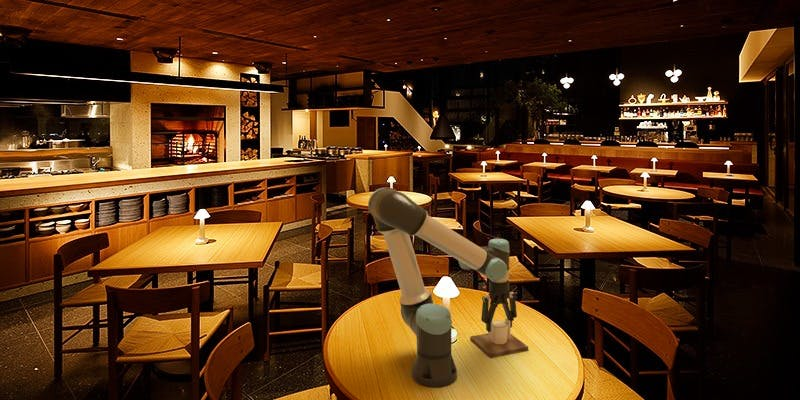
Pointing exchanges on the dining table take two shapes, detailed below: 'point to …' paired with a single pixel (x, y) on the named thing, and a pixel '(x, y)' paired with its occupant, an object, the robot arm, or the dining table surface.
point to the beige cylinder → (500, 332)
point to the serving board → (498, 345)
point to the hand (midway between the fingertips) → (499, 337)
